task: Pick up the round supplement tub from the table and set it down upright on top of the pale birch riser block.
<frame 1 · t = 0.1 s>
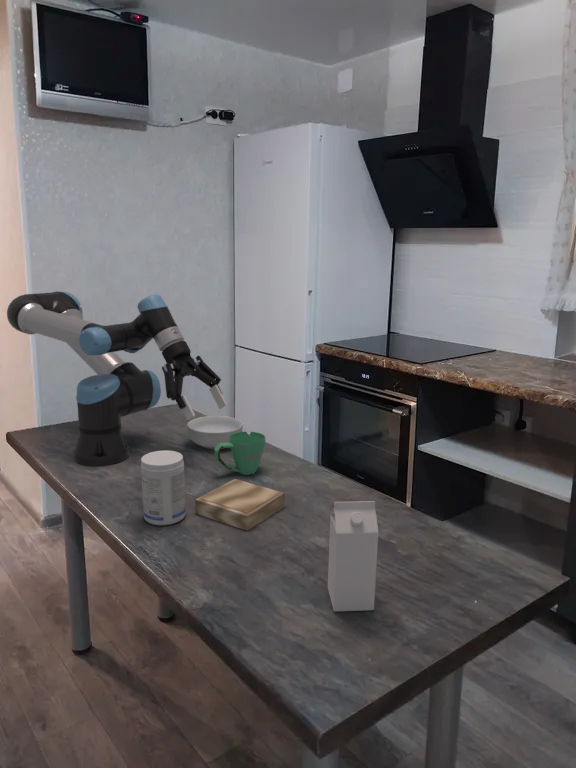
hand: (208, 412, 167), 15 cm above the table, fingers open, 13 cm apart
mug: (239, 473, 164), on the table
birch riser: (240, 509, 142), on the table
cereal bowl: (215, 445, 186), on the table
supplement tub: (164, 518, 138), on the table
milk carton: (350, 600, 108), on the table
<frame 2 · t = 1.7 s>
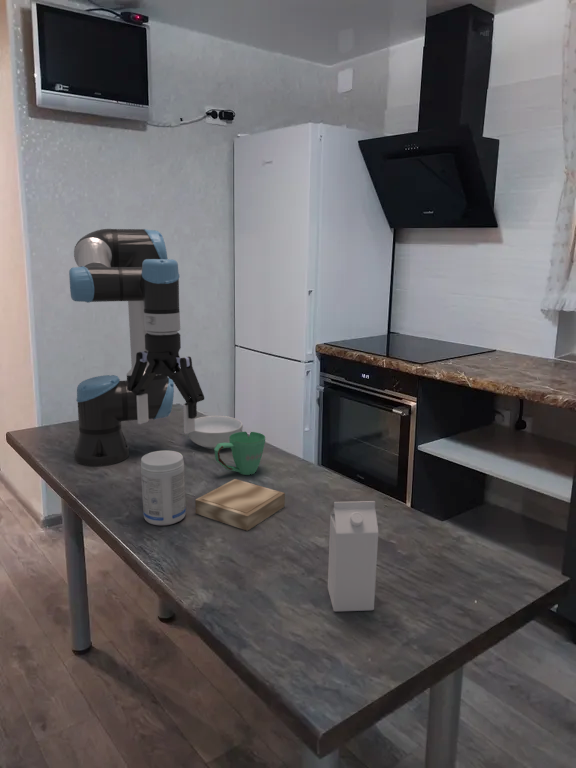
hand: (165, 427, 134), 21 cm above the table, fingers open, 13 cm apart
nothing on the table moved.
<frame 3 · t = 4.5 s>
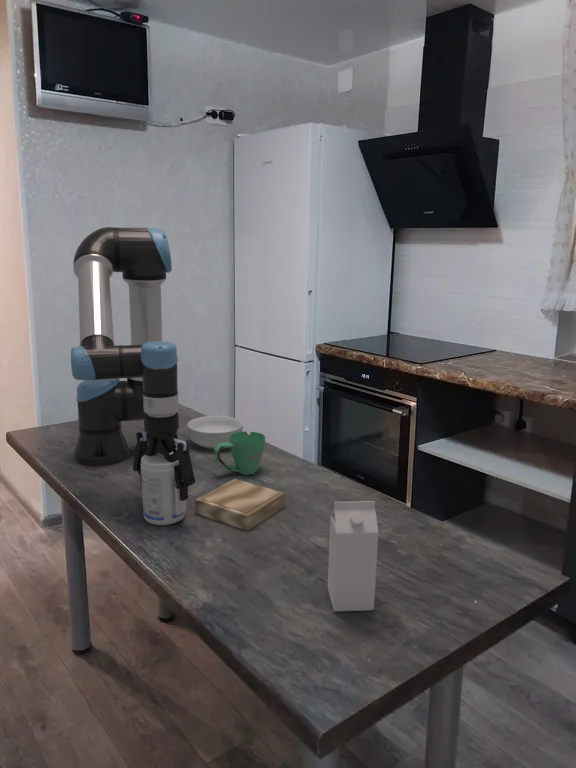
hand: (164, 506, 137), 3 cm above the table, fingers closed on supplement tub, 9 cm apart
supplement tub: (164, 518, 138), on the table, touching gripper
everything else where it was.
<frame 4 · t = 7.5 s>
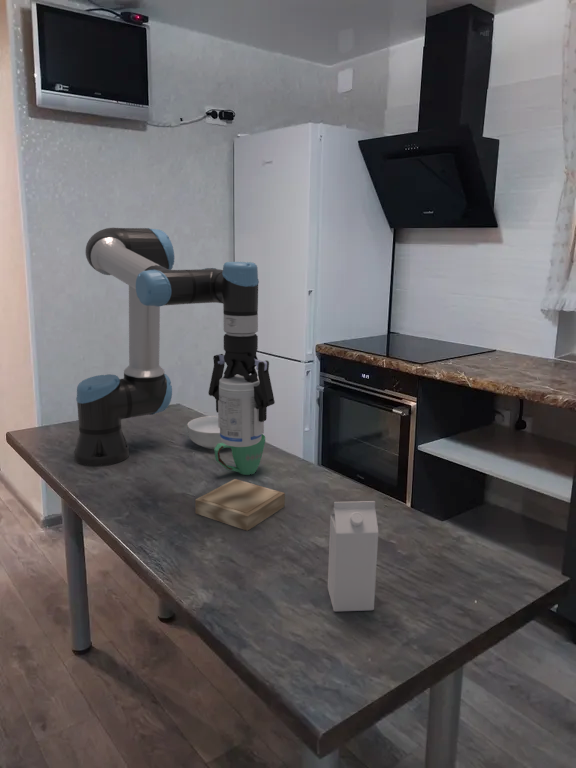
hand: (240, 430, 137), 20 cm above the table, fingers closed on supplement tub, 9 cm apart
supplement tub: (240, 442, 138), point 17 cm above the table, touching gripper
everything else where it was.
when the fingers open (7 cm above the table, at t = 10.6 s): supplement tub stays where it is, resting on birch riser.
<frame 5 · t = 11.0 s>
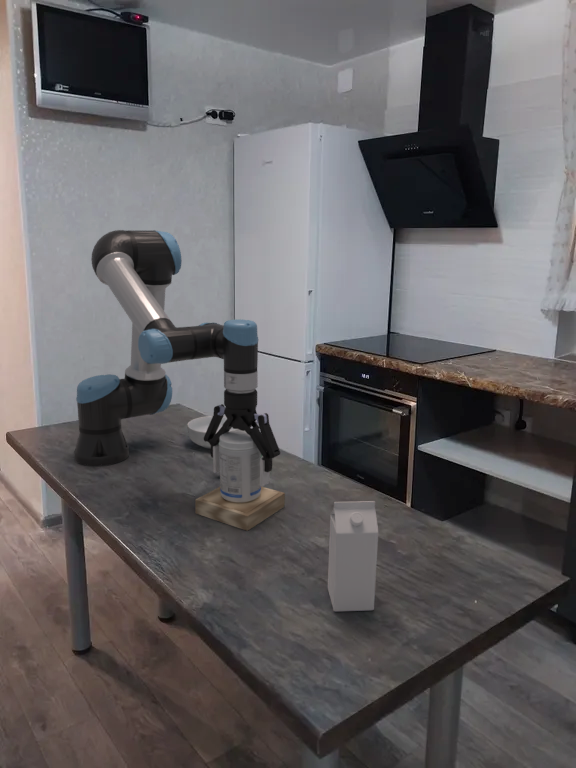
hand: (240, 477, 140), 8 cm above the table, fingers open, 13 cm apart
supplement tub: (240, 496, 141), point 3 cm above the table, touching birch riser
everything else where it was.
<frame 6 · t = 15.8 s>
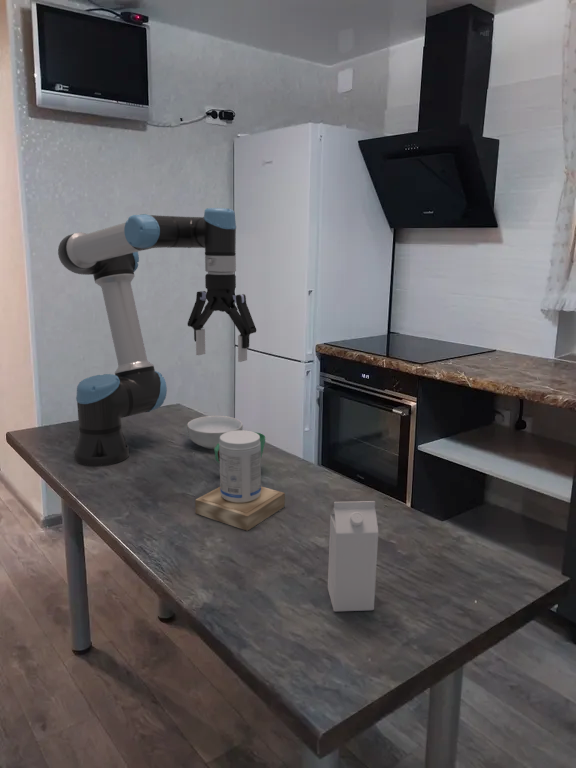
hand: (221, 357, 153), 33 cm above the table, fingers open, 13 cm apart
nothing on the table moved.
at the end: supplement tub inside the target area on the birch riser (0.1 cm from its centre), point 3.5 cm above the birch riser's base; supplement tub tilted 0°; the gripper is holding nothing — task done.
